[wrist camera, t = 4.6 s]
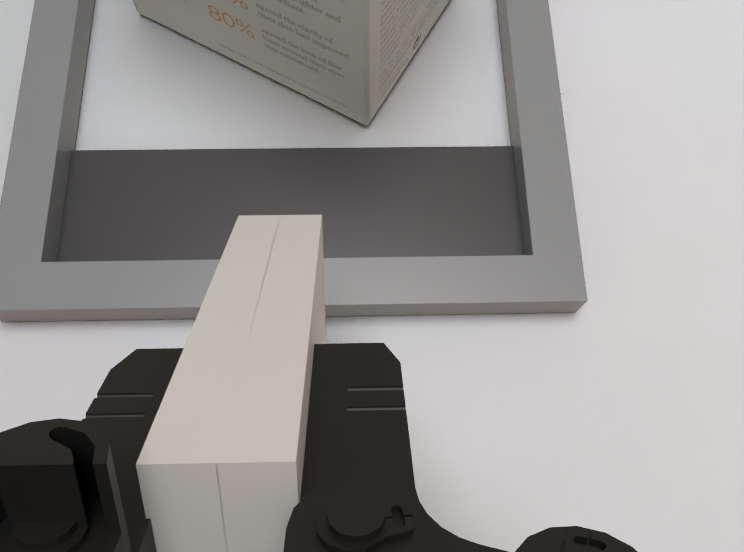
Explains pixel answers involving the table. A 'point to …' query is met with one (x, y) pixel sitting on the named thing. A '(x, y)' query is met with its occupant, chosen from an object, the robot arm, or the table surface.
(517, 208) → the grey square frame
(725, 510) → the table surface
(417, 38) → the small box
